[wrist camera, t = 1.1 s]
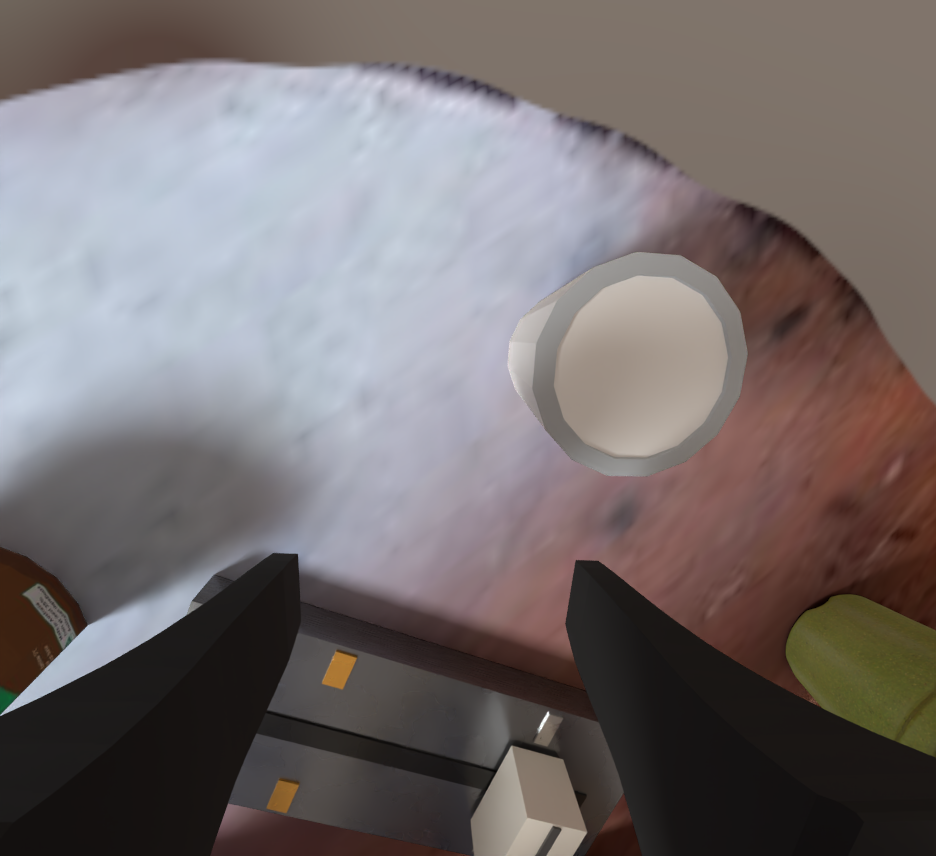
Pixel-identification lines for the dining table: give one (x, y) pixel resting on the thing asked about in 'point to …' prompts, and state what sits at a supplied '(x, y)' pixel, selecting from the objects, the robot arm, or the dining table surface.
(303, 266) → the dining table surface
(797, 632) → the plant pot
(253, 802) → the fader console
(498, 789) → the fader knob
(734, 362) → the white cylinder
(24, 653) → the food container
